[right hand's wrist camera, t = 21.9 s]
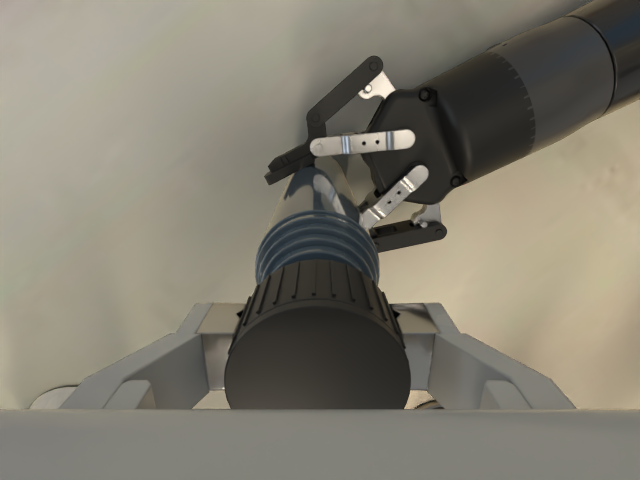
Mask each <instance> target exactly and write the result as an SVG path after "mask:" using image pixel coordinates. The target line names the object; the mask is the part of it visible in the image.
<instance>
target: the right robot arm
mask: <svg viewBox="0 0 640 480" xmlns="http://www.w3.org/2000/svg"><path fill="white" fill-rule="evenodd" d="M245 306H246V303H196V304H195V305H194V307H193V308H192V310H191V311H190V313H189V314H188V316H187V317H186V319H185V320H184V322H183V323H182V325H181V326H180V328H179V329H178V331H177V332H176V334H169V335H167V336H165V337H163V338H161V339H159V340H157V341H155V342H153V343H152V344H150V345H148V346H146V347H144V348H142V349H140V350H138V351H136V352H134V353H133V354H131V355H129V356H127V357H125V358H123V359H121V360H119V361H117V362H116V363H114V364H112V365H110V366H108V367H106V368H104V369H102V370H100V371H98V372H97V373H95V374H93V375H91V376H89V377H87V378H85V379H84V380H83V381H82V382H81V383H80V385H79V386H78V387H64V388H58V389H54V390H51V391H48V392H46V393H44V394H43V395H41V396H40V397H38V398H37V399H36V400H35V401H34V402H33V404H32V405H31V407H30V409H0V480H640V409H577V408H576V407H575V406H574V405H573V404H572V403H571V401H570V400H569V399H568V398H567V397H566V396H565V395H564V393H563V392H562V391H561V390H560V389H559V388H558V387H557V385H556V384H555V383H554V382H553V381H552V380H551V379H550V378H548V377H546V376H544V375H542V374H540V373H539V372H537V371H535V370H533V369H531V368H529V367H527V366H525V365H524V364H522V363H520V362H518V361H516V360H514V359H512V358H511V357H509V356H507V355H505V354H503V353H501V352H499V351H497V350H496V349H494V348H492V347H490V346H488V345H486V344H484V343H482V342H481V341H479V340H477V339H475V338H473V337H471V336H469V335H467V334H461V333H460V332H459V330H458V329H457V327H456V326H455V324H454V323H453V321H452V320H451V318H450V317H449V315H448V314H447V312H446V310H445V309H444V307H443V306H442V304H440V303H403V304H390V306H391V309H392V311H393V314H394V317H395V319H396V322H397V325H398V327H399V330H400V333H401V335H402V338H403V341H404V343H405V346H406V349H405V352H406V355H407V358H408V360H409V366H410V372H411V388H410V390H427V392H428V393H429V394H430V395H431V396H432V397H433V398H434V399H435V400H436V401H437V402H438V403H440V404H441V405H442V406H443V407H444V408H445V409H192V408H193V407H194V406H195V405H196V404H197V403H198V402H199V401H200V400H201V399H202V398H203V397H204V396H205V395H206V394H208V393H209V390H225V388H224V372H225V367H226V363H227V359H228V357H229V355H228V350H229V348H230V345H231V342H232V340H234V339H233V337H234V334H235V332H236V329H237V326H238V324H239V321H240V319H241V316H242V313H243V311H244V308H245Z"/></svg>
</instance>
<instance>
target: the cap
mask: <svg viewBox="0 0 640 480" xmlns="http://www.w3.org/2000/svg"><path fill="white" fill-rule="evenodd" d="M233 339H234V340H232V342H231V345H230V348H229V350H228V355H229V357H228V359H227V363H226V367H225V372H224V388H225V393H226V397H227V401H228V403H229V405H230V408H231V409H404V407H405V405H406V403H407V400H408V397H409V394H410V388H411V372H410V366H409V360H408V358H407V355H406V352H405V349H406V346H405V343H404V341H403V338H402V335H401V333H400V330H399V327H398V325H397V322H396V319H395V317H394V314H393V311H392V309H391V306H390V304H388V301H387V298H386V296H385V293H384V292H381V290H380V289H379V288H378V286H377V285H376V282H375V281H374V280H373V281H372V280H371V279H370V278H369V277H368V276H366V275H365V274H364V272H363V271H359V270H357V269H356V268H354V267H351V266H349V265H348V264H344V263H340V262H336V261H333V260H320V259H313V260H304V261H297V262H295V263H292V264H289V265H287V266H283V267H281V268H280V269H278V270H276V271H275V272H273V273H272V274H271V275H270V274H269V275H267V278H266V279H265V280H263V281H262V282H261V284H260V285H257V286H256V288H255V291H254V293H253V295H252V296H251V297H250V296H249V298H248V301H247V303H246V306H245V308H244V311H243V313H242V316H241V319H240V321H239V324H238V326H237V329H236V332H235V334H234V337H233Z"/></svg>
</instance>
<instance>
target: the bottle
mask: <svg viewBox="0 0 640 480" xmlns="http://www.w3.org/2000/svg"><path fill="white" fill-rule="evenodd" d="M313 259H320V260H333V261H336V262H340V263H344V264H348V265H349V266H351V267H354V268H356V269H357V270H359V271H363V272H364V274H365V275H366V276H368V277H369V278H370V279H371V280H372V281H373V280H374V281H375V282H376V285H377V286H378V282H379V257H378V252H377V249H376V246H375V244H374V242H373V239H372V237H371V235H370V233H369V230H368V228H367V226H366V223H365V221H364V219H363V216H362V214H361V212H360V210H359V207H358V205H357V203H356V200H355V198H354V196H353V194H352V191H351V189H350V187H349V184H348V182H347V180H346V177H345V175H344V173H343V171H342V168H341V166H340V165H339V163H338V162H337V161H336V160H335V159H334V158H332V157H331V156H321V157H318V158H316V159H315V163H313V164H311V165H309V166H307V167H305V168H303V169H301V170H299V171H297V172H295V173H293V174H291V175H290V177H289V179H288V182H287V184H286V186H285V188H284V191H283V193H282V195H281V198H280V200H279V202H278V205H277V207H276V209H275V211H274V214H273V216H272V218H271V221H270V223H269V225H268V227H267V230H266V232H265V234H264V237H263V239H262V241H261V244H260V246H259V248H258V252H257V255H256V262H255V277H256V284H257V285H260V284H261V282H262V281H263V280H265V279H266V278H267V275H269V274H270V275H271V274H272V273H273V272H275V271H276V270H278V269H280V268H281V267H283V266H287V265H289V264H292V263H295V262H297V261H304V260H313Z"/></svg>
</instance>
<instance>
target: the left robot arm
mask: <svg viewBox="0 0 640 480" xmlns="http://www.w3.org/2000/svg"><path fill="white" fill-rule="evenodd" d="M382 69H383V62H382V60H381V59H380V58H379V57H377V56H371V57H369V58H368V59H366V60H365V61H364V62H363V63H362V64H361V65H360V66H359V67H358V68H356V69H355V70H354V71H353V72H352V73H351V74H350V75H349V76H348V77H346V78H345V79H344V80H343V81H342V82H341V83H340V84H339V85H338V86H336V87H335V88H334V89H333V90H332V91H331V92H330V93H329V94H328V95H326V96H325V97H324V98H323V99H322V100H321V101H320V102H319V103H318V104H316V105H315V106H314V107H313V108H312V109H311V110H310V111H309V112H308V113H307V117H306V119H307V125H308V134H309V136H308V139H307V141H306V142H305V143H304V144H302V145H300V146H298V147H296V148H294V149H292V150H290V151H288V152H286V153H284V154H282V155H280V156H278V157H277V158H275V159H274V160H273V161H272V162H271V163H270V165H269V166H268V167H269V169H270V172H268V173H267V174H266V175H265V176H264V177H265V179H266V181H267V183H268V184H269V185H271V184H273V183H275V182H277V181H279V180H281V179H283V178H285V177H287V176H289V175H291V174H293V173H295V172H297V171H299V170H301V169H303V168H305V167H307V166H309V165H311V164H313V163H315V159H316V158H318V157H321V156H331V155H340V154H357V153H360V154H361V156H362V158H363V160H364V161H365V163H366V164H367V165H368V166H369V168H370V171H371V177H372V181H373V183H374V185H375V188H374V189H373V190H372V191H371V192H370V193H369V194H368V195H367V196H366V198H365V200H364V201H363V202H362V203H361V204H360V205H359V206H358V207H359V210H360V212H361V214H362V216H363V219H364V221H365V223H366V226H367V228H368V230H369V233H370V235H371V237H372V239H373V242H374V244H375V246H376V249H377V252H378V253H380V252H385V251H389V250H394V249H399V248H403V247H408V246H413V245H418V244H422V243H427V242H432V241H436V240H441V239H443V238H444V237H445V236H446V234H447V229H446V227H445V226H444V225H443V224H442V223H441V215H440V207H439V202H441V201H442V200H443V199H444V198H445V196H446V195H447V194H448V193H449V192H450V191H451V190H453V189H454V188H456V187H459V186H461V185H464V184H466V183H469V182H471V181H473V180H475V179H477V178H480V177H482V176H484V175H486V174H488V173H490V172H493V171H495V170H497V169H499V168H501V167H503V166H506V165H508V164H510V163H512V162H514V161H516V160H518V159H521V158H523V157H525V156H527V155H529V154H532V153H534V152H536V151H538V150H540V149H542V148H545V147H547V146H549V145H551V144H553V143H555V142H557V141H559V140H561V139H563V138H565V137H567V136H568V135H570V134H572V133H574V132H575V131H577V130H578V129H580V128H581V127H583V126H585V125H586V124H588V123H590V122H592V121H594V120H596V119H598V118H600V117H603V116H605V115H607V114H609V113H611V112H613V111H615V110H618V109H620V108H622V107H624V106H626V105H628V104H631V103H633V102H635V101H637V100H639V99H640V0H594V1H592V2H590V3H588V4H586V5H584V6H582V7H580V8H578V9H576V10H574V11H572V12H570V13H568V14H567V15H565V16H563V17H561V18H559V19H556V20H554V21H552V22H550V23H547V24H545V25H542V26H539V27H536V28H533V29H531V30H528V31H525V32H523V33H521V34H519V35H517V36H515V37H513V38H511V39H509V40H507V41H505V42H503V43H499V44H496V45H494V46H492V47H490V48H489V49H488V50H486V52H484V53H482V54H480V55H478V56H476V57H474V58H472V59H470V60H468V61H466V62H465V63H463V64H461V65H459V66H457V67H455V68H453V69H451V70H449V71H447V72H445V73H443V74H441V75H439V76H437V77H436V78H434V79H432V80H430V81H428V82H426V83H424V84H422V85H420V86H418V87H416V88H414V89H410V90H405V89H398V90H396V89H395V88H394V86H393V85H392V83H391V82H390V81H389V79H388V78H387V76H386V75H385V73H384V72H383V70H382ZM355 95H358V96H359V97H360V98H361V99H369V98H371V97H373V96H379V97H380V98H381V99H382V101H381V103H380V105H379V107H378V109H377V111H376V112H375V114H374V116H373V118H372V120H371V122H370V124H369V125H368V127H367V129H366V131H357V132H348V133H341V134H334V135H326V127H325V122H326V121H327V120H328V119H329V118H330V117H332V116H333V115H334V114H335V113H336V112H337V111H338V110H340V109H341V108H342V107H343V106H344V105H345V104H346V103H348V102H349V101H350V100H351V99H352V98H353V97H354V96H355ZM389 200H390V201H389ZM388 201H389V202H388ZM402 201H406V202H412V203H418V204H423V207H422V208H421V210H419V211H417V212H415V213H413V214H412V216H411V220H406V221H401V222H397V223H392V224H388V225H383V226H379V227H374V228H373V227H372V226H373V225H374V224H376V223H377V222H378V221H379V220H380V219H383V218H385V217H386V216H387V215H388V214H389V213H390V212H391V211H392V210H393V209H394V208H396V207H397V206H398V205H399V204H400V203H401V202H402ZM417 409H445V408H444V407H443V406H442V405H441V404H440V403H438V402H437V401H434V402H430V403H427V404H425V405H422V406H420V407H419V408H417Z"/></svg>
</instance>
